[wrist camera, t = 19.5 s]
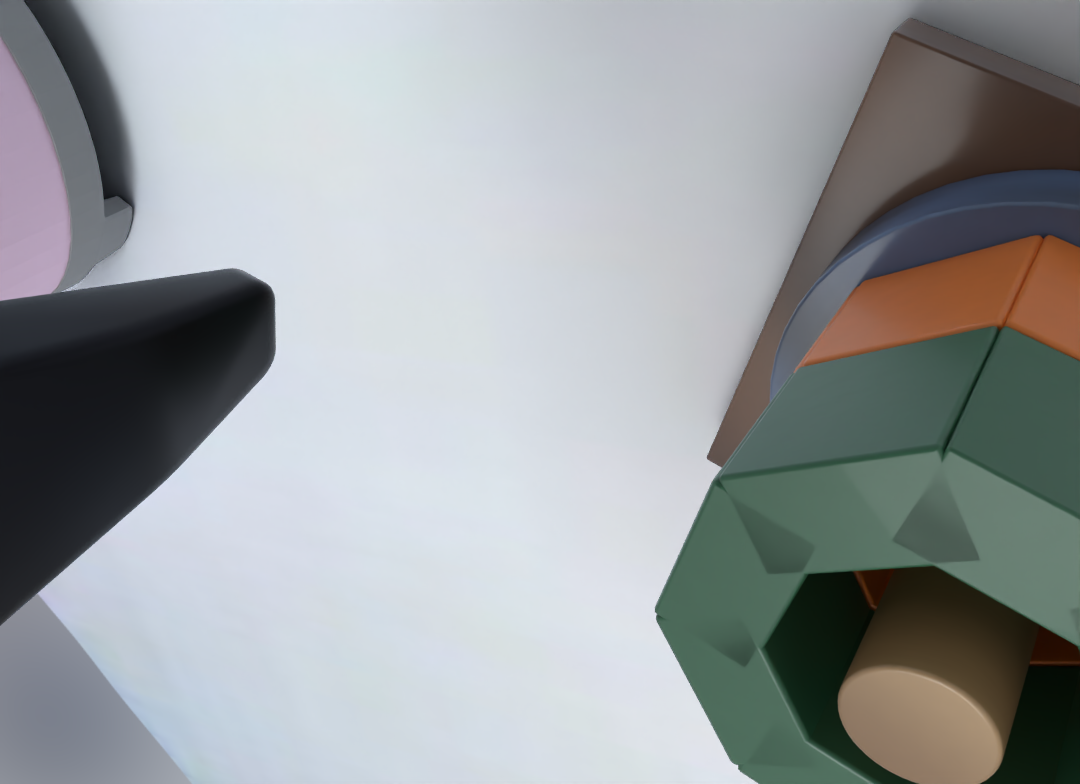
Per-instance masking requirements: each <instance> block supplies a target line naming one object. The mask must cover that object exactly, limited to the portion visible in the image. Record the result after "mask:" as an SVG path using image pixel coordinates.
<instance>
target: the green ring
mask: <svg viewBox="0 0 1080 784" xmlns="http://www.w3.org/2000/svg"><path fill="white" fill-rule="evenodd" d="M926 566H935V567H937V568H939V569H940V570H942V571H944V572H946V573H948V574H949V575H951V576H953V577H955V578H957V579H958V580H960V581H962V582H964V583H965V584H967V585H969V586H971V587H973V588H974V589H976V590H978V591H980V592H982V593H983V594H985V595H987V596H989V597H990V598H992V599H994V600H996V601H998V602H999V603H1001V604H1003V605H1005V606H1006V607H1008V608H1010V609H1012V610H1014V611H1015V612H1017V613H1019V614H1021V615H1023V616H1024V617H1026V618H1028V619H1030V620H1031V621H1033V622H1035V623H1037V624H1039V625H1040V626H1042V627H1044V628H1046V629H1048V630H1049V631H1051V632H1053V633H1055V634H1056V635H1058V636H1060V637H1062V638H1064V639H1065V640H1067V641H1069V642H1071V643H1072V644H1074V645H1076V646H1078V649H1079V651H1080V361H1078V360H1076V359H1074V358H1072V357H1070V356H1068V355H1066V354H1064V353H1062V352H1060V351H1057V350H1055V349H1053V348H1051V347H1049V346H1047V345H1045V344H1043V343H1041V342H1039V341H1037V340H1035V339H1032V338H1030V337H1028V336H1026V335H1024V334H1022V333H1020V332H1018V331H1016V330H1014V329H1012V328H1010V327H1007V326H1005V327H1003V328H1002V329H1001V330H1000V332H999V329H998V328H997V327H996V326H991V327H986V328H981V329H977V330H972V331H967V332H963V333H958V334H953V335H949V336H944V337H939V338H935V339H930V340H925V341H921V342H916V343H911V344H907V345H902V346H897V347H893V348H888V349H883V350H879V351H874V352H869V353H865V354H860V355H855V356H851V357H846V358H841V359H837V360H832V361H828V362H823V363H818V364H814V365H809V366H804V367H800V368H799V369H797V371H796V372H795V373H792V374H791V375H790V376H789V377H788V379H787V380H786V381H785V383H784V384H783V385H782V387H781V388H780V389H779V391H778V392H777V394H776V395H775V396H774V398H773V399H772V400H771V402H770V403H769V404H768V406H767V407H766V409H765V410H764V411H763V413H762V414H761V415H760V417H759V418H758V419H757V421H756V422H755V424H754V425H753V426H752V428H751V429H750V430H749V432H748V433H747V434H746V436H745V437H744V439H743V440H742V441H741V443H740V444H739V445H738V447H737V448H736V450H735V451H734V452H733V454H732V455H731V456H730V458H729V459H728V460H727V462H726V463H725V465H724V466H723V467H722V469H721V470H720V471H719V473H718V474H717V475H716V477H715V478H714V480H713V481H712V483H711V485H710V487H709V489H708V492H707V494H706V496H705V498H704V500H703V503H702V505H701V507H700V509H699V511H698V514H697V516H696V518H695V520H694V522H693V525H692V527H691V529H690V531H689V533H688V536H687V538H686V540H685V542H684V544H683V547H682V549H681V551H680V553H679V555H678V558H677V560H676V562H675V564H674V566H673V569H672V571H671V573H670V575H669V577H668V580H667V582H666V584H665V586H664V588H663V591H662V593H661V595H660V597H659V599H658V602H657V604H656V606H655V612H656V613H657V616H656V620H657V623H658V624H659V626H660V628H661V630H662V632H663V634H664V636H665V638H666V640H667V641H668V643H669V645H670V647H671V649H672V651H673V653H674V655H675V657H676V658H677V660H678V662H679V664H680V666H681V668H682V670H683V672H684V674H685V675H686V677H687V679H688V681H689V683H690V685H691V687H692V689H693V691H694V692H695V694H696V696H697V698H698V700H699V702H700V704H701V706H702V708H703V709H704V711H705V713H706V715H707V717H708V719H709V721H710V723H711V725H712V726H713V728H714V730H715V732H716V734H717V736H718V738H719V740H720V742H721V743H722V745H723V747H724V749H725V751H726V753H727V755H728V757H729V759H730V760H731V762H732V763H734V764H736V765H738V769H739V770H740V772H742V773H743V774H745V775H746V776H748V777H749V778H751V779H753V780H754V781H756V782H757V783H759V784H918V783H915V782H912V781H909V780H907V779H904V778H902V777H900V776H898V775H896V774H894V773H892V772H890V771H888V770H887V769H885V768H883V767H882V766H880V765H879V764H877V763H876V762H874V761H873V760H872V759H871V758H869V757H868V756H867V755H866V754H865V753H864V752H863V751H862V750H861V749H860V748H859V747H858V746H857V745H856V744H855V743H854V742H853V740H852V739H851V738H850V736H849V735H848V733H847V732H846V730H845V728H844V726H843V724H842V721H841V719H840V715H839V711H838V693H839V690H840V687H841V685H842V682H843V680H844V678H845V676H846V674H847V672H848V669H849V667H850V665H851V663H852V661H853V659H854V656H855V654H856V652H857V650H858V648H859V645H860V643H861V641H862V639H863V637H864V635H865V632H866V630H867V628H868V626H869V624H870V621H871V619H872V617H873V615H874V613H875V611H874V610H872V609H870V608H869V606H868V603H867V601H866V599H865V597H864V595H863V593H862V590H861V588H860V586H859V584H858V582H857V579H856V577H855V575H854V573H853V571H864V570H879V569H895V568H911V567H926ZM980 784H1080V666H1029V667H1028V671H1027V674H1026V678H1025V681H1024V685H1023V689H1022V692H1021V696H1020V699H1019V703H1018V707H1017V710H1016V714H1015V717H1014V721H1013V724H1012V728H1011V732H1010V735H1009V739H1008V742H1007V746H1006V750H1005V753H1004V757H1003V760H1002V763H1001V765H1000V767H999V768H998V770H997V771H996V772H995V773H994V774H993V775H992V776H991V777H990V778H988V779H987V780H986V781H984V782H982V783H980Z"/></svg>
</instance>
